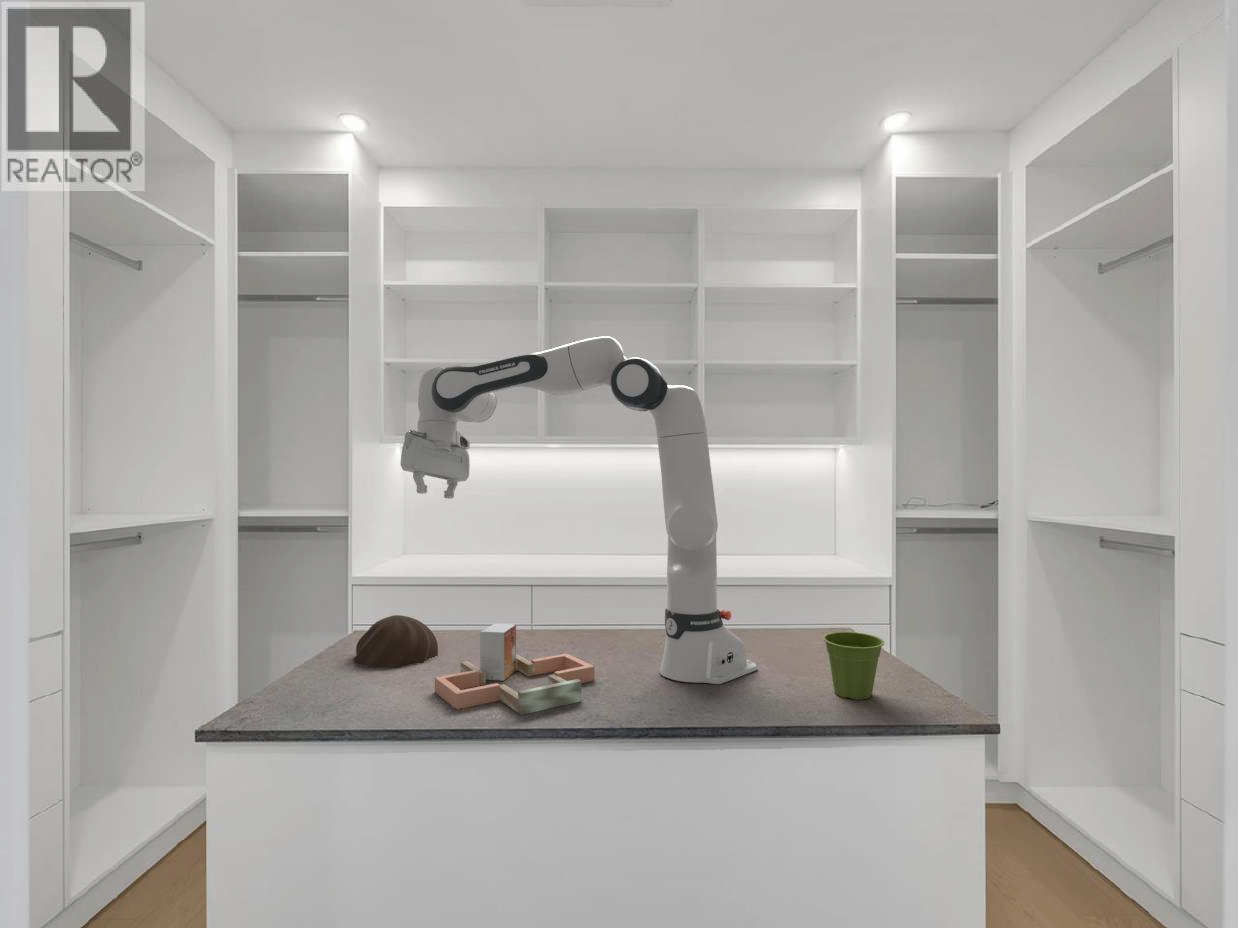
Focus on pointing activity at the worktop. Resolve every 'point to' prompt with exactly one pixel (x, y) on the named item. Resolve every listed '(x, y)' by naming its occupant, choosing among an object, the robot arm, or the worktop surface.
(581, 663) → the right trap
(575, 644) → the worktop surface
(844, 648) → the plant pot
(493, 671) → the small box
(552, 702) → the trap lane
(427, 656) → the decorative dome
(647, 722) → the worktop surface
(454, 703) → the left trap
